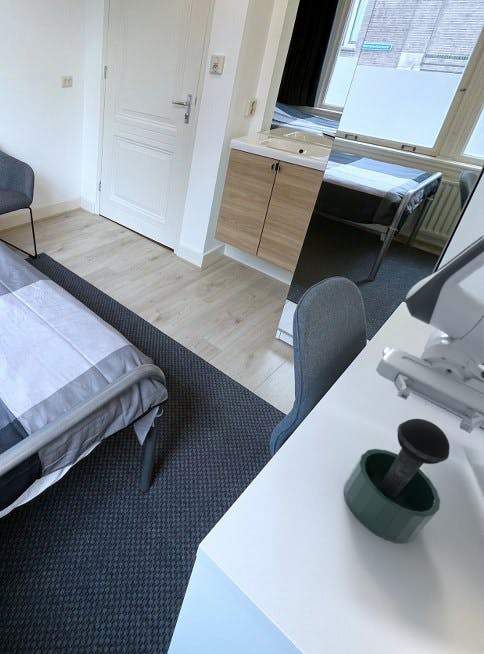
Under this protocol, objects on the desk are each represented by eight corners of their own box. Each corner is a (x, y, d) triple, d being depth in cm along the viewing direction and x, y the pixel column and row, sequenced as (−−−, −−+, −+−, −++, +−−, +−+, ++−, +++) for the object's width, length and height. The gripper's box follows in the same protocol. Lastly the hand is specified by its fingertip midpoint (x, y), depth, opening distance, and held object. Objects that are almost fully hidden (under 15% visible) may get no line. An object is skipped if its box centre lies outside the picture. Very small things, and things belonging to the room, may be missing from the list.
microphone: (353, 479, 78) (398, 404, 69) (392, 488, 78) (444, 414, 68) (367, 516, 72) (418, 441, 63) (410, 527, 72) (469, 452, 62)
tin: (409, 492, 78) (428, 465, 74) (426, 556, 69) (449, 529, 65) (340, 466, 82) (355, 439, 78) (347, 524, 72) (365, 496, 68)
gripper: (392, 333, 89) (375, 365, 80) (520, 391, 76) (517, 436, 67) (380, 356, 92) (362, 389, 82) (502, 415, 79) (496, 461, 70)
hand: (433, 411), depth 75 cm, fingers open, 8 cm apart
